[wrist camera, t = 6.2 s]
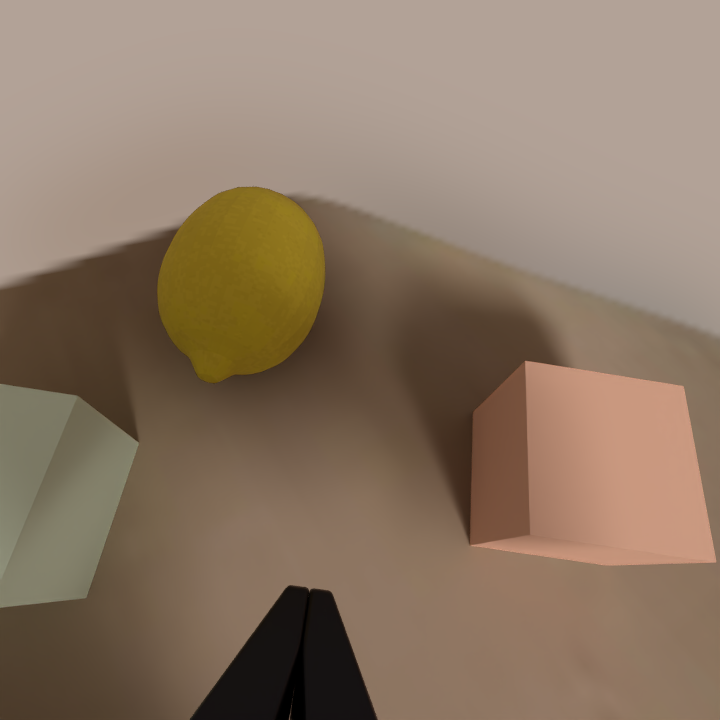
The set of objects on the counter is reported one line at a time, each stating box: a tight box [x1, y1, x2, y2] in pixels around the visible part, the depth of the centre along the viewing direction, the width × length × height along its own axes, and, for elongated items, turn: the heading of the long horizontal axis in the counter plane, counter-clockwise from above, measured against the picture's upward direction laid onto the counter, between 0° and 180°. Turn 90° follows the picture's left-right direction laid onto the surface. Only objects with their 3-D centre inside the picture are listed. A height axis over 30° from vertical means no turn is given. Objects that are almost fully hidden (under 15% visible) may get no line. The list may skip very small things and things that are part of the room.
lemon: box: [157, 187, 325, 383], centre depth 17 cm, size 6×6×8 cm
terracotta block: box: [470, 361, 716, 565], centre depth 15 cm, size 5×5×5 cm
